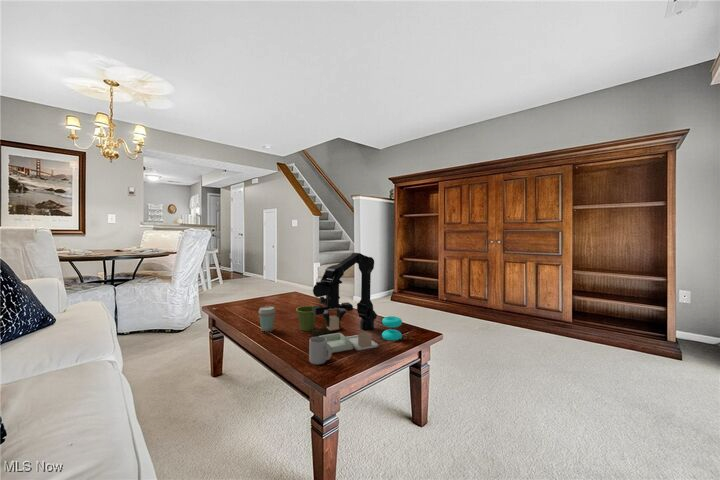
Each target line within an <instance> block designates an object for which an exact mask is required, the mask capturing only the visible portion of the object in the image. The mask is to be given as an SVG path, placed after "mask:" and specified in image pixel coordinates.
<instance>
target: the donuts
mask: <svg viewBox="0 0 720 480" xmlns="http://www.w3.org/2000/svg"><path fill="white" fill-rule="evenodd" d="M381 322H382V324H383V326H385V327H387V328H391V329H385V330H384V331H383V332H382V333H381V337H382V338H383V339H384V340H387V341H399V339H400V340H401V339H402V337H403V334H402V332H401V331H400V330H397V329H392V328H398V327H400V326H402V324H403V320H402V318H400V317H399V316H398V317H397V316H391V315H390V316H385V317H383V318H382V320H381Z"/></svg>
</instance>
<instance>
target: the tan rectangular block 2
mask: <svg viewBox="0 0 720 480" xmlns="http://www.w3.org/2000/svg"><path fill="white" fill-rule="evenodd" d="M357 335H358V345H359V346H360V347H366V346H372V341H373V340H372V337H373V335H372V334H371V333H369V332H368V331H363V332H359V333H358V334H357Z"/></svg>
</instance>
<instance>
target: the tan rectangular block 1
mask: <svg viewBox="0 0 720 480" xmlns="http://www.w3.org/2000/svg"><path fill="white" fill-rule="evenodd" d="M326 327H327V326H326ZM327 328H328V329H329V330H336V331H338V330H340V329H339V317H337V314H336V315H329V327H327ZM337 329H338V330H337Z"/></svg>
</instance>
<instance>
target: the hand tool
mask: <svg viewBox="0 0 720 480" xmlns="http://www.w3.org/2000/svg"><path fill="white" fill-rule="evenodd" d="M341 326H342V325H341V322H340V323H339V329H337V330H329V329H328V328H327V326H325V327H322V328H319V329H315V330H314V329H313V330H311V337H312V338H313V337H319V336H322V335H328V334H330V333H332V332H336V331H338V330H340V329H341V328H342V327H341Z"/></svg>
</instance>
